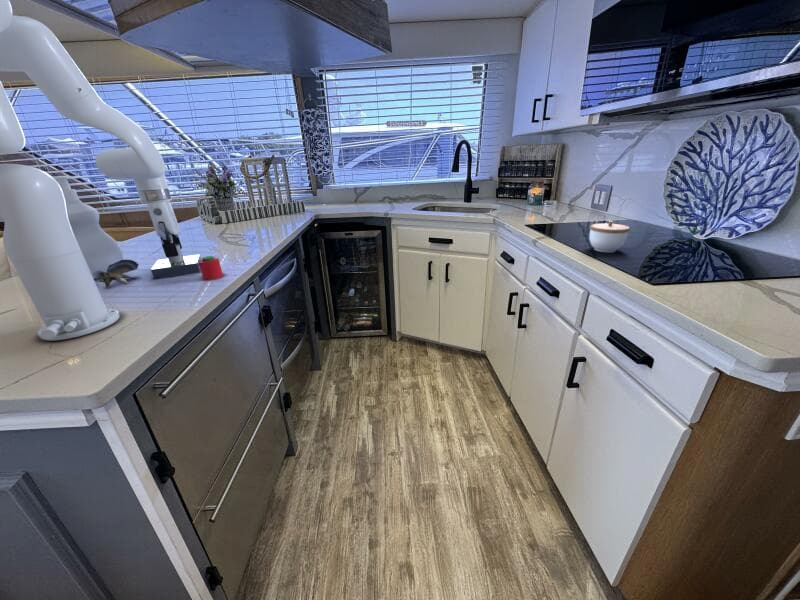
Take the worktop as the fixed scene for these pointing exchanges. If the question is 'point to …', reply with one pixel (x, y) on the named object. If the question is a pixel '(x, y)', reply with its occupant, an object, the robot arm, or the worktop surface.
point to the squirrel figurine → (116, 272)
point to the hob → (176, 267)
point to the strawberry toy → (210, 268)
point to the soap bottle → (89, 231)
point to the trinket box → (608, 236)
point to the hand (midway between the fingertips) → (174, 252)
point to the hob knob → (176, 258)
